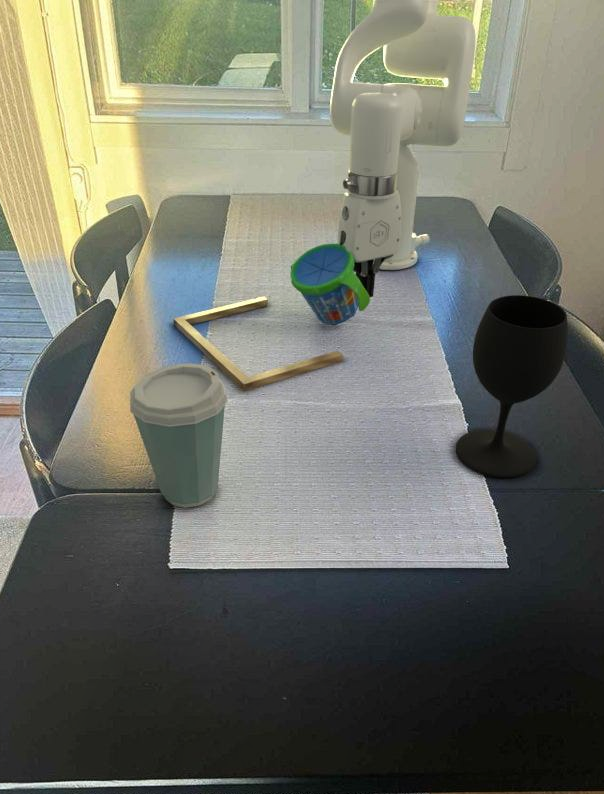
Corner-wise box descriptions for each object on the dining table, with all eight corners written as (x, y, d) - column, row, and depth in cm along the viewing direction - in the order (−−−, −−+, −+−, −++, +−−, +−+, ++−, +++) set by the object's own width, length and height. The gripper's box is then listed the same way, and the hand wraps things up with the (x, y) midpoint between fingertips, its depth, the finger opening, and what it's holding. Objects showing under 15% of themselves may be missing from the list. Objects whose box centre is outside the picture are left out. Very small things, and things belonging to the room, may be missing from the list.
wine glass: (539, 440, 94) (577, 300, 81) (532, 486, 86) (572, 339, 73) (461, 425, 96) (487, 286, 84) (448, 468, 89) (473, 323, 76)
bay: (263, 302, 126) (263, 296, 125) (342, 361, 110) (343, 354, 109) (173, 324, 118) (172, 318, 118) (244, 391, 102) (243, 384, 101)
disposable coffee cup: (160, 530, 79) (142, 418, 69) (132, 477, 86) (113, 369, 77) (247, 503, 82) (241, 394, 73) (214, 454, 90) (204, 349, 81)
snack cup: (288, 314, 124) (267, 269, 116) (330, 277, 126) (313, 230, 118) (347, 348, 114) (329, 302, 106) (391, 307, 116) (377, 259, 108)
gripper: (347, 196, 104) (341, 312, 115) (424, 183, 110) (411, 294, 122) (318, 183, 109) (315, 296, 120) (394, 172, 115) (384, 279, 126)
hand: (363, 295), depth 121 cm, fingers closed
